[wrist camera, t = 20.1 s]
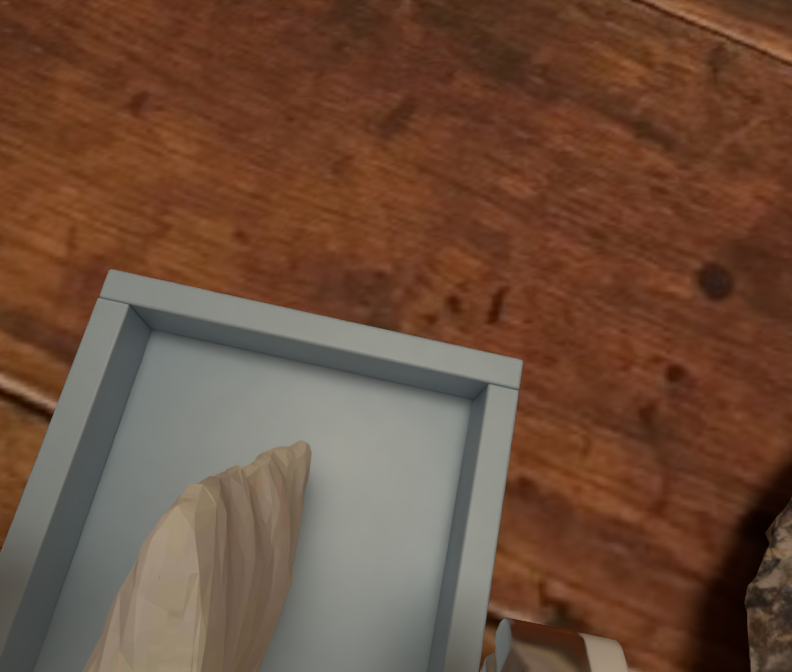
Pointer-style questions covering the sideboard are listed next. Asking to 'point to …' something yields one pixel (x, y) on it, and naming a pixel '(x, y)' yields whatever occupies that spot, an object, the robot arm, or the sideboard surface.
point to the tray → (240, 445)
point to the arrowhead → (211, 573)
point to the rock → (772, 601)
